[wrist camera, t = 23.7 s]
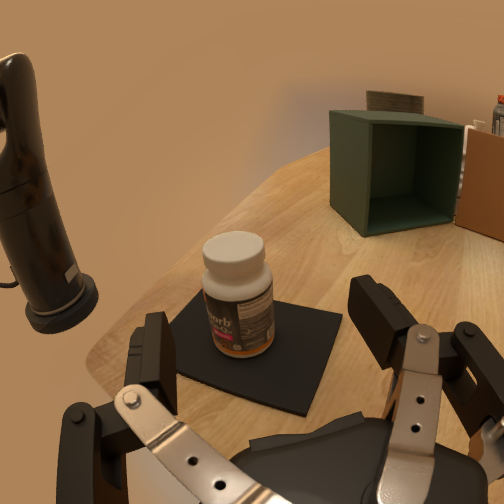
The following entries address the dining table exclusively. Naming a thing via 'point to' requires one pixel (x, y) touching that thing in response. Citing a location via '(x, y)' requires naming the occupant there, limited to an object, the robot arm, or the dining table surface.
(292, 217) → the dining table surface
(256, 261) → the pill bottle
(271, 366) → the mat
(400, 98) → the planter
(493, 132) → the supplement tub
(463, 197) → the cupboard door
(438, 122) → the cupboard
